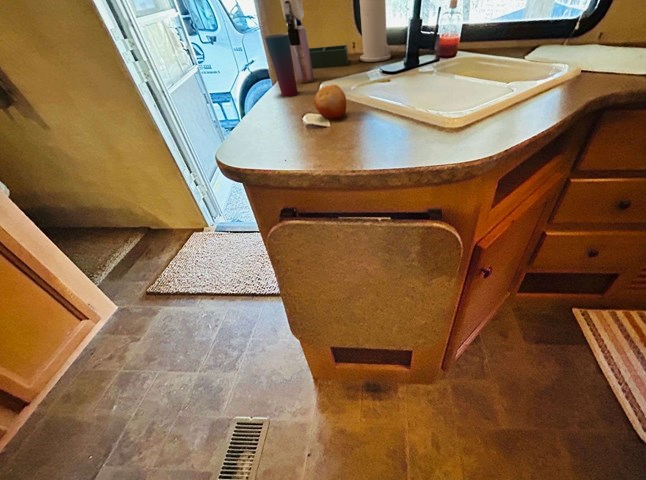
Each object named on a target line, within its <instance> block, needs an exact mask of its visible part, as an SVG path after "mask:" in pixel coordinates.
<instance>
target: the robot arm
mask: <svg viewBox="0 0 646 480" xmlns="http://www.w3.org/2000/svg"><path fill="white" fill-rule="evenodd" d="M279 1H280V5H281V11H282V15H283V18H284V20H285V22H286V30H287V29H288V30H287V31H288V35H289V41H290V45H291V46H295V45H300V44H301V43H300V38H299V32H298V29H297V26H304V25H303V20H302V19H304V16H305V11H304V7H303V2H302V0H279ZM386 3H387V2H386V0H359V11H360V24H361V37H362V38H361V40H362V51H363V53H362V54H361V55H360V56H359V61H361V62H364V63H375V62H382V61H388V60H390V59H391V58H392V54H391V53H399V46H398V45H389V44H388V42H387V41H388V40H387V12H386V11H387V9H386V7H387V6H386ZM287 31H286V32H287Z"/></svg>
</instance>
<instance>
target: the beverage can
mask: <svg viewBox="0 0 646 480" xmlns="http://www.w3.org/2000/svg"><path fill="white" fill-rule="evenodd" d="M297 29H298V32H299V38H300V43H301V44H300V45H295V46H291V45H290V47H291V54H292V60H293V67H294V73H295V79H296V82H298V83H299V84H308V83H312V82H313V81H314V79H315V76H314V75H315V74H314V71H313V70H314V69H312V64H311V58H310V52H309V48H310V47H309V41H308V36H307V35H308V34H307V30H306V28H305V25H303V26H297ZM286 30H288V29H287V28H286ZM286 33H287V34H288V31H286Z"/></svg>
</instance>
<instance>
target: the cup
mask: <svg viewBox="0 0 646 480" xmlns="http://www.w3.org/2000/svg"><path fill="white" fill-rule="evenodd" d="M264 40H265V44H266V47H267V50H268V53H269V57H270V60H271V63H272V66H273V70H274V73H275V78H276V80H277V83H278V87H279V90H280V94H281V96H282V97H285V98H286V97H295V96H296V95H298V87H297V86H298V85H297V78H296V73H295V68H294V63H293V58H292V53H291V47H290V41H289V35H288V34H287V32H286V33H285V32H284V33H273V34H268V35H265V36H264Z"/></svg>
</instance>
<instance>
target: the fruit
mask: <svg viewBox="0 0 646 480" xmlns="http://www.w3.org/2000/svg"><path fill="white" fill-rule="evenodd" d="M313 104H314V107H315V109H316V111H317V112H318V113H319V115H320V116H321V117H322V118H323V119H325V120H335V119H336V120H337V119H342V118H343V117H344V116H345V114H346V111H347V97H346V94H345V93H344V90H343V89H342V88H341V87H340V86H338V85H337V84H331V85H325V86H323V87H321V88H320V89H319V90H318V91H317V92H316V94H315V96H314V100H313Z"/></svg>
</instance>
